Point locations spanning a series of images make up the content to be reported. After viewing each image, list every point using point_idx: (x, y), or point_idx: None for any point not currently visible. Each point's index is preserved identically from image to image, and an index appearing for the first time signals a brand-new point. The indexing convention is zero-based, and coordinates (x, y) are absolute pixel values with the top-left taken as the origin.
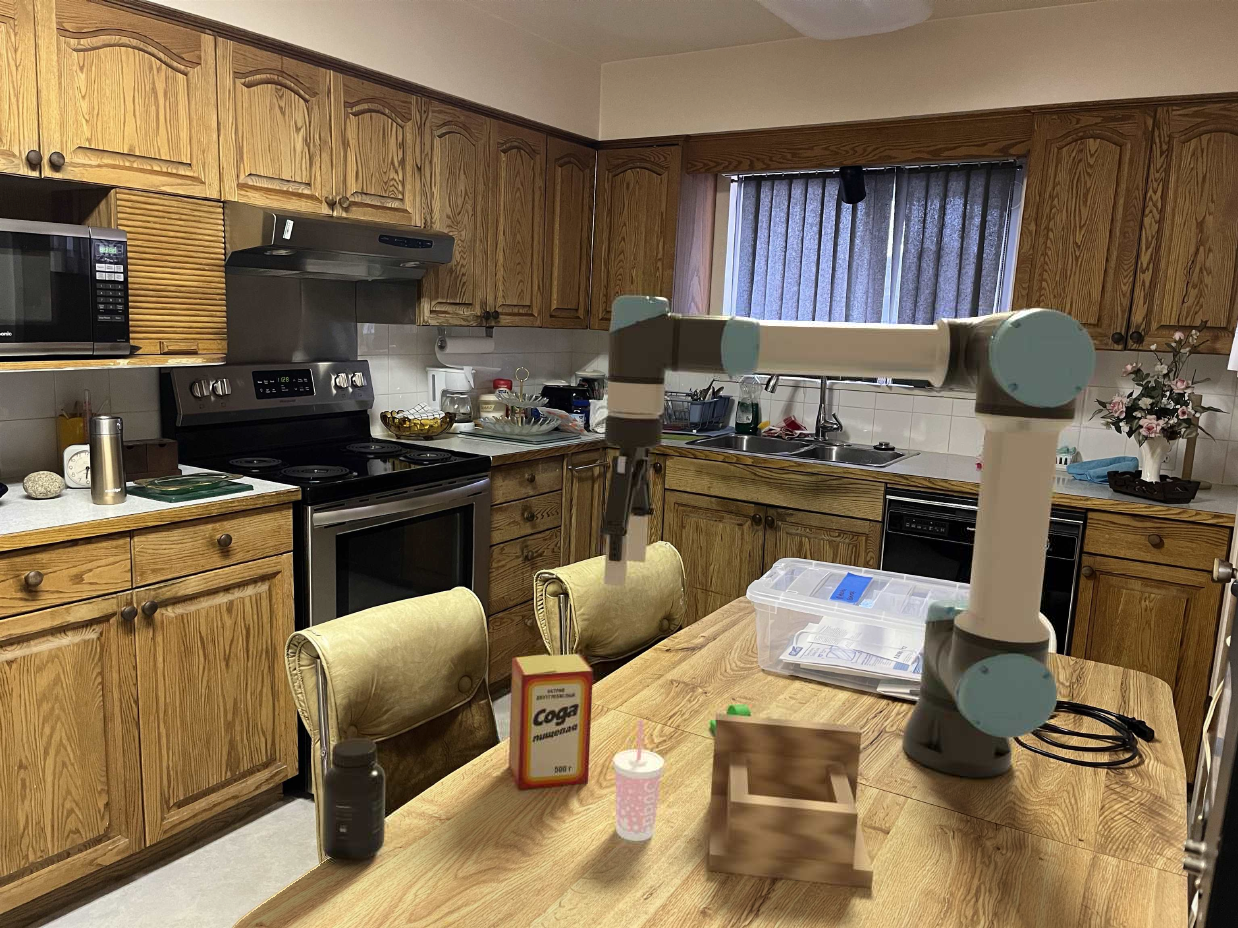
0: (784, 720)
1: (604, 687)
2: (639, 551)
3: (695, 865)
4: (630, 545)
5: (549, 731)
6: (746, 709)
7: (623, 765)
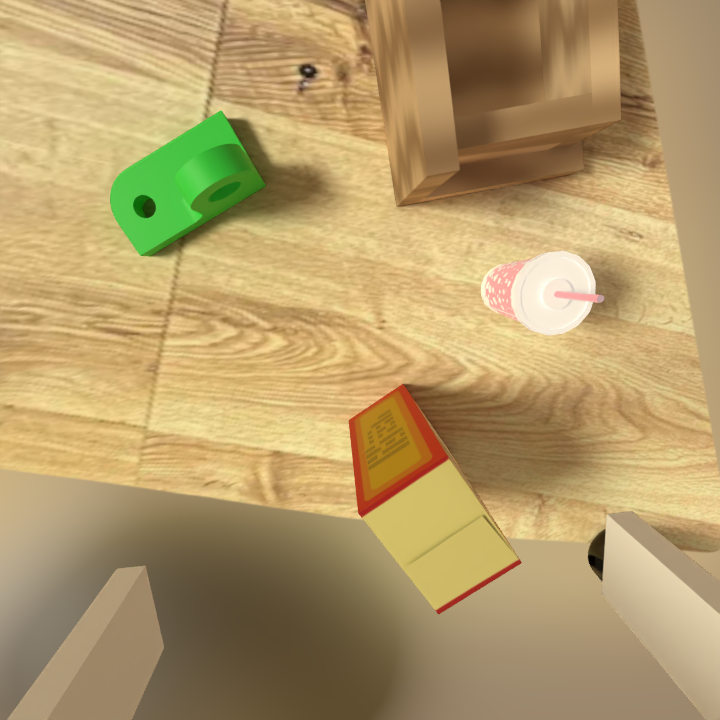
0: (411, 8)
1: (62, 471)
2: (124, 640)
3: (562, 193)
4: (119, 718)
5: (455, 462)
6: (211, 154)
7: (574, 313)
